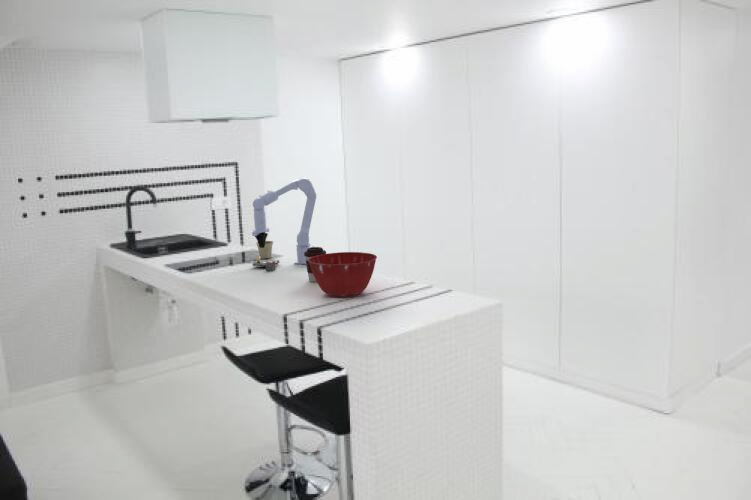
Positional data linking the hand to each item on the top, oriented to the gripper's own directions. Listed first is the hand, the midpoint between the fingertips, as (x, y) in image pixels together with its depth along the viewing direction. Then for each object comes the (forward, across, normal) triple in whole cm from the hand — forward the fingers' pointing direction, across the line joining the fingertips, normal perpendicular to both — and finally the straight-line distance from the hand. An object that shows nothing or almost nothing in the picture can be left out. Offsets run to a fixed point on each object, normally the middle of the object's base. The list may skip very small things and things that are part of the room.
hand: (262, 247), depth 345 cm
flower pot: (+10, -19, -9) cm, 23 cm away
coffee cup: (+10, +29, +43) cm, 53 cm away
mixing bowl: (+10, +50, +65) cm, 83 cm away
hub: (+9, +3, +3) cm, 10 cm away
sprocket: (+8, +3, +3) cm, 9 cm away
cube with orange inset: (+9, +11, +10) cm, 18 cm away
